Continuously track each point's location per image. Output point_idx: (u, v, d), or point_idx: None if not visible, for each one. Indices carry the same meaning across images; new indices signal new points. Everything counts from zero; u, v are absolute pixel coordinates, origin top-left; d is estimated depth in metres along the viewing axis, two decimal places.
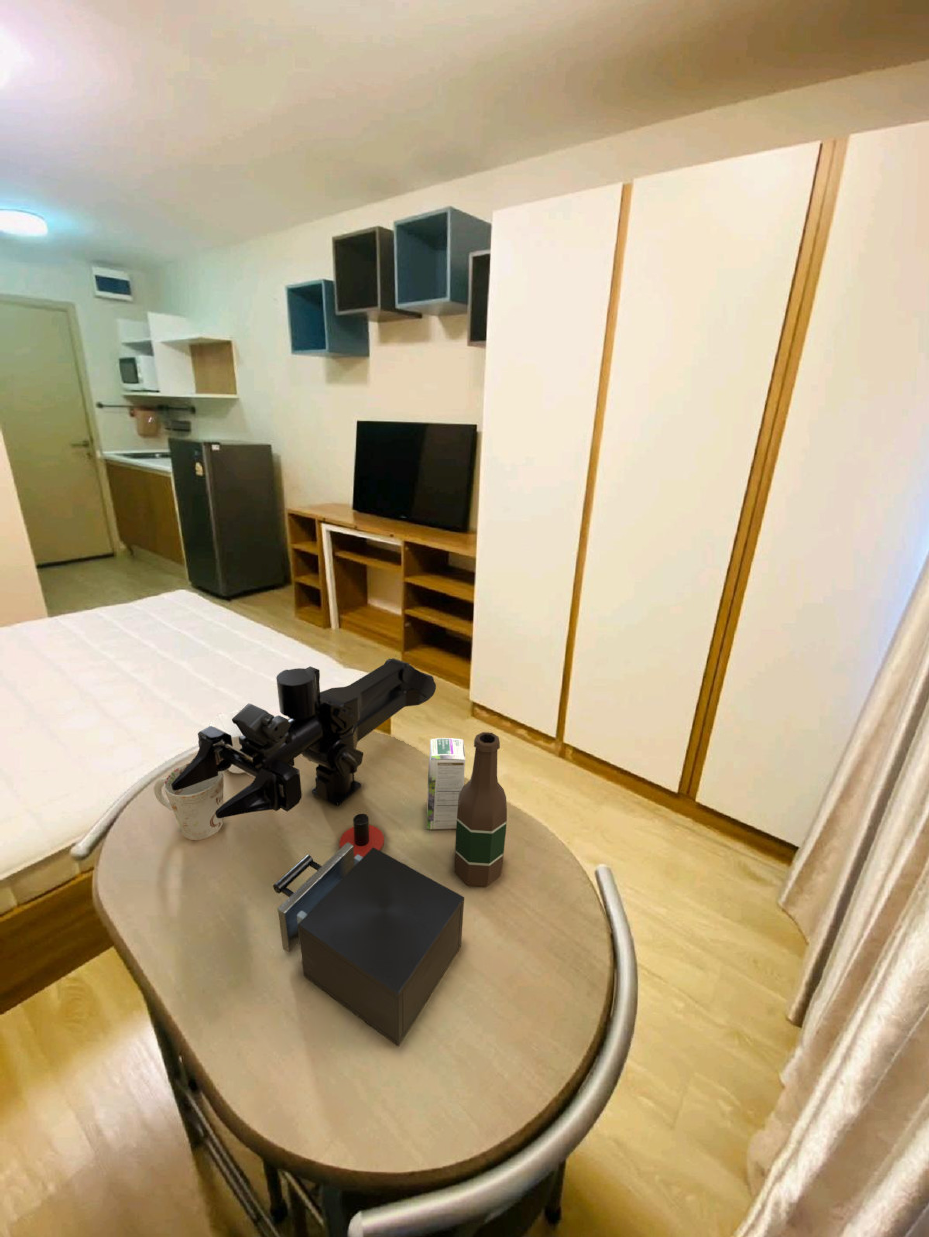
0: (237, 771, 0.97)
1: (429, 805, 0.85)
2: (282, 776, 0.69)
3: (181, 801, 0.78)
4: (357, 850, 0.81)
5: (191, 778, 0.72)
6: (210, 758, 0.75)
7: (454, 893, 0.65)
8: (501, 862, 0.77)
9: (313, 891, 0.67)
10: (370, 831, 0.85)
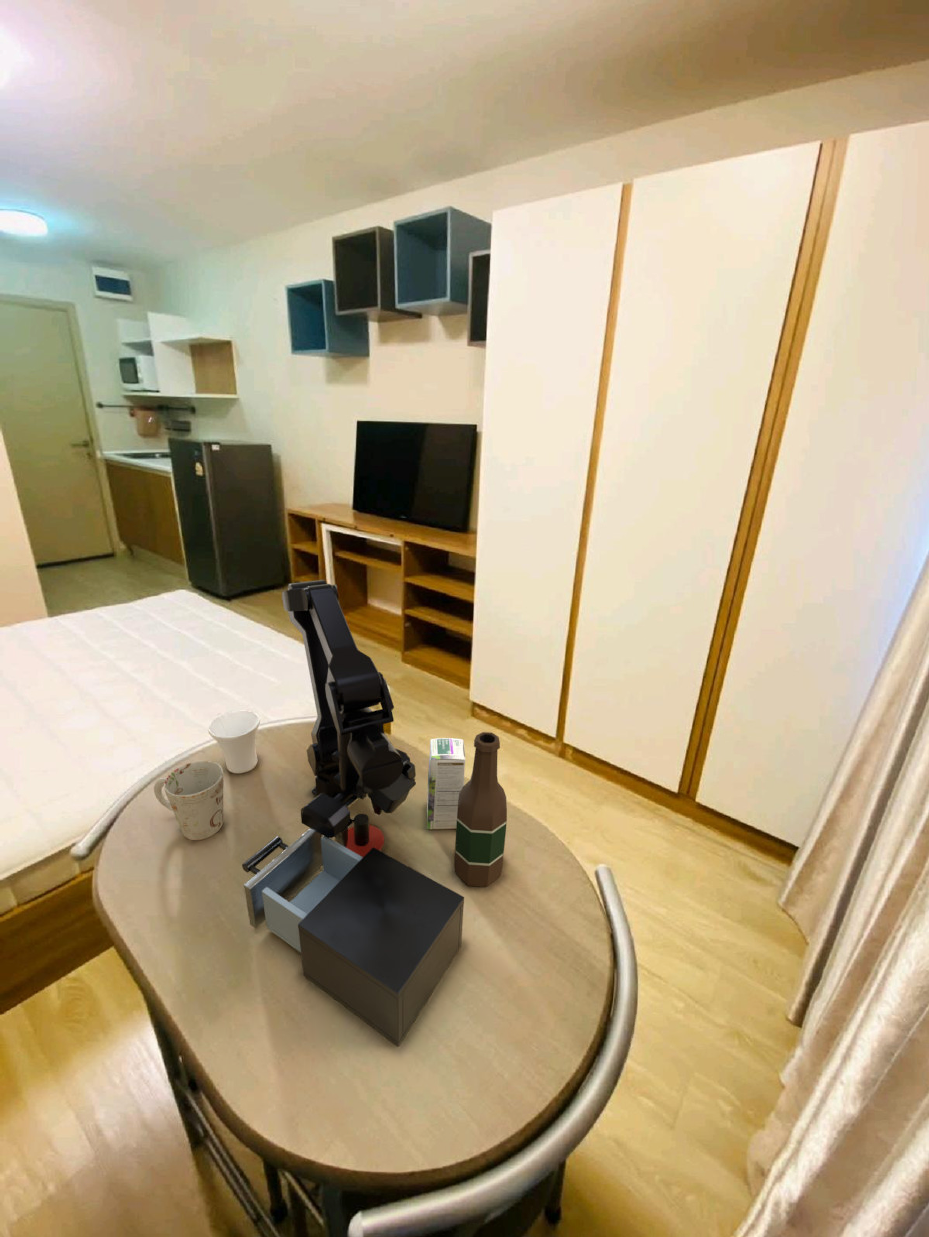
0: (237, 771, 0.97)
1: (429, 805, 0.85)
2: None
3: (181, 801, 0.78)
4: (357, 850, 0.81)
5: None
6: None
7: (454, 893, 0.65)
8: (501, 862, 0.77)
9: (279, 869, 0.70)
10: (370, 831, 0.85)
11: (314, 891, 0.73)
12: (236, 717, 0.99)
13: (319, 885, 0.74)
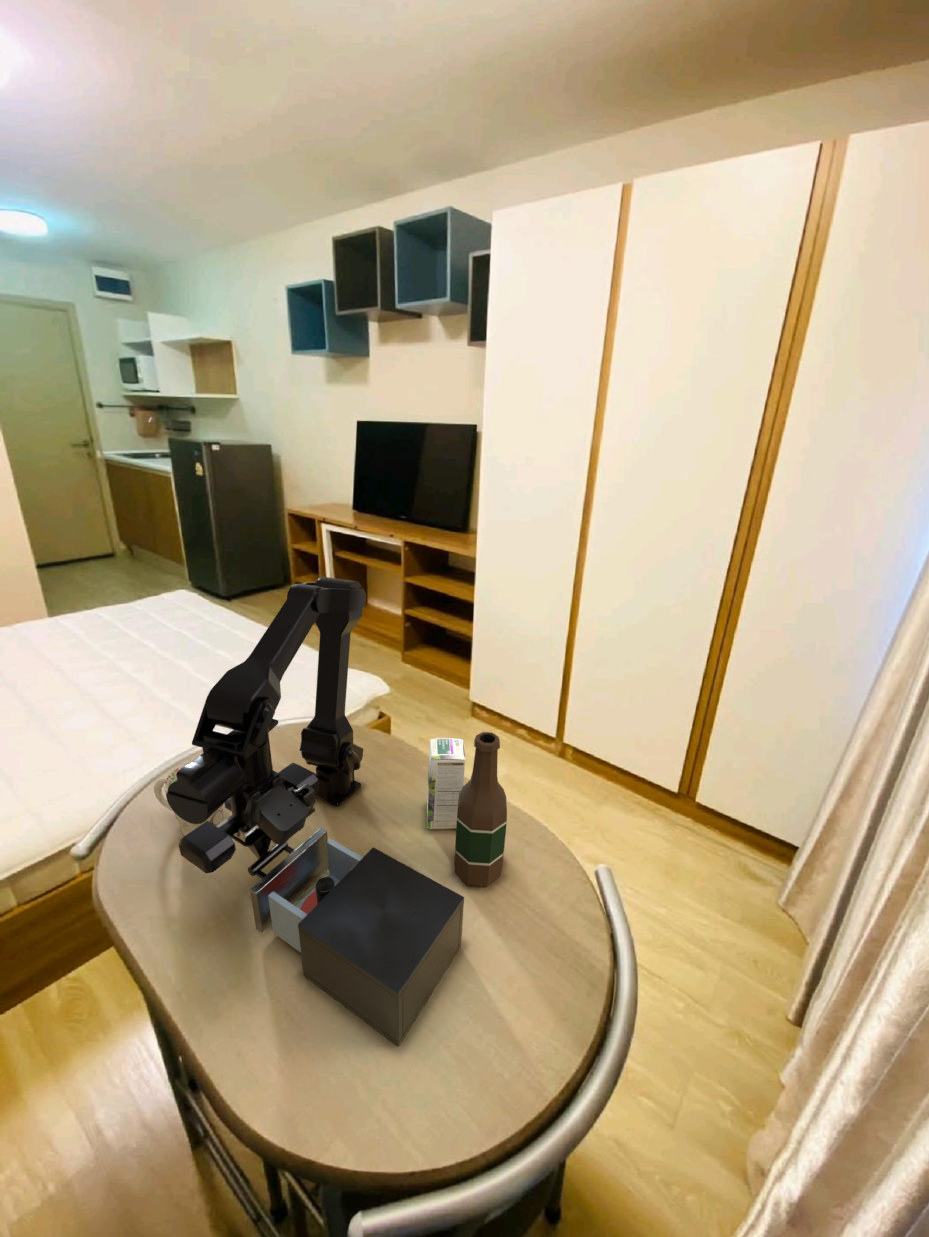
0: None
1: (429, 805, 0.85)
2: None
3: None
4: None
5: None
6: None
7: (454, 893, 0.65)
8: (501, 862, 0.77)
9: (285, 873, 0.69)
10: None
11: None
12: None
13: None
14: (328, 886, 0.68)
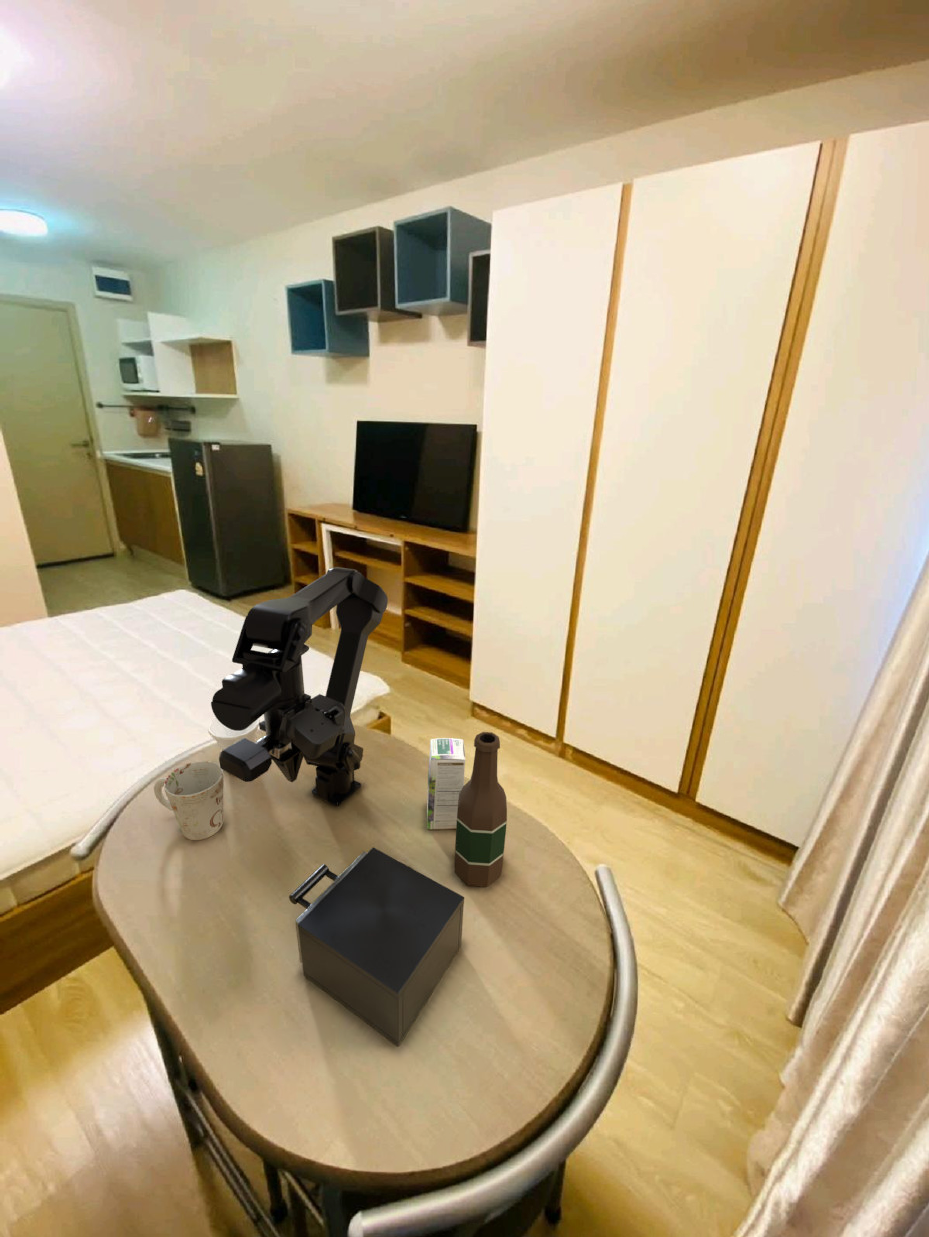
0: None
1: (429, 805, 0.85)
2: None
3: (181, 801, 0.78)
4: None
5: None
6: None
7: (454, 893, 0.65)
8: (501, 862, 0.77)
9: None
10: None
11: None
12: None
13: None
14: None
